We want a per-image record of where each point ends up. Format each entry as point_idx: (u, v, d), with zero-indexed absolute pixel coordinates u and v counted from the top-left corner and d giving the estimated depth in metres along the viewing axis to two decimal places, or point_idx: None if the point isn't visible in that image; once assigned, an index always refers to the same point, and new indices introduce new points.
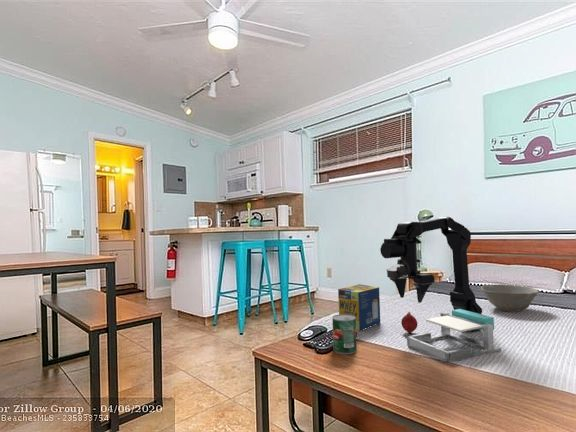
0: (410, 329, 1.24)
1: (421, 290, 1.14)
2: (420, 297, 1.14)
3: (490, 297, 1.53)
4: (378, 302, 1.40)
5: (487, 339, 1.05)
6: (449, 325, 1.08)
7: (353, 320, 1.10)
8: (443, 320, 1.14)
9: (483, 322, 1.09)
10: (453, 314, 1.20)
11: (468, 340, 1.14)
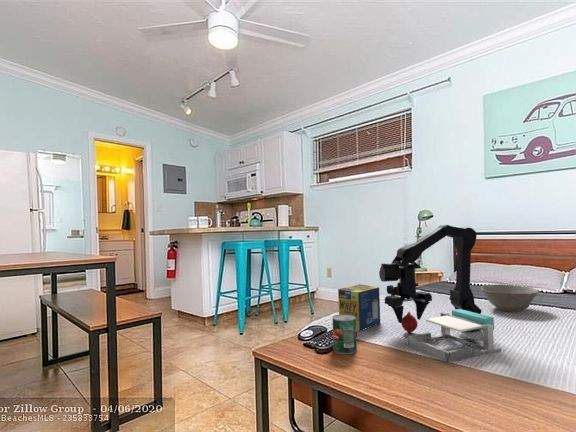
0: (410, 329, 1.24)
1: (397, 311, 1.25)
2: (397, 317, 1.25)
3: (490, 297, 1.53)
4: (378, 302, 1.40)
5: (487, 339, 1.05)
6: (449, 325, 1.08)
7: (353, 320, 1.10)
8: (443, 320, 1.14)
9: (483, 322, 1.09)
10: (453, 314, 1.20)
11: (468, 340, 1.14)
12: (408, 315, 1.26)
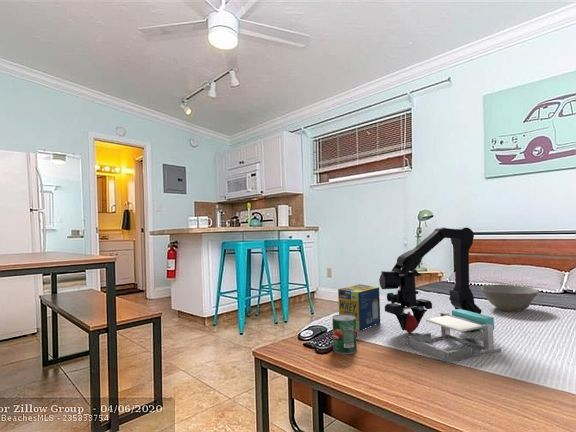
0: (410, 329, 1.24)
1: (400, 318, 1.25)
2: (401, 325, 1.26)
3: (490, 297, 1.53)
4: (378, 302, 1.40)
5: (487, 339, 1.05)
6: (449, 325, 1.08)
7: (353, 320, 1.10)
8: (443, 320, 1.14)
9: (483, 322, 1.09)
10: (453, 314, 1.20)
11: (468, 340, 1.14)
12: (408, 315, 1.26)
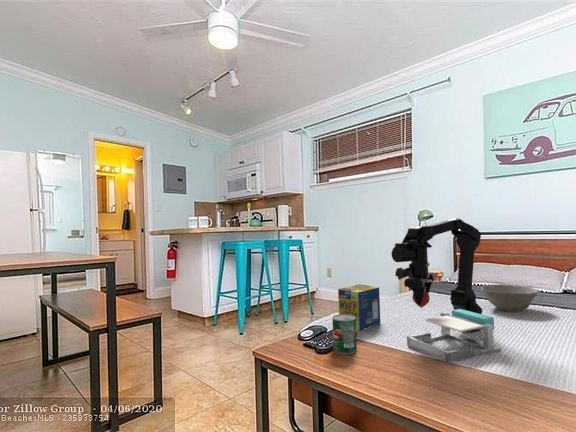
0: (426, 302, 1.19)
1: (417, 293, 1.18)
2: (417, 299, 1.19)
3: (490, 297, 1.53)
4: (378, 302, 1.40)
5: (487, 339, 1.05)
6: (449, 325, 1.08)
7: (353, 320, 1.10)
8: (443, 320, 1.14)
9: (483, 322, 1.09)
10: (453, 314, 1.20)
11: (468, 340, 1.14)
12: None
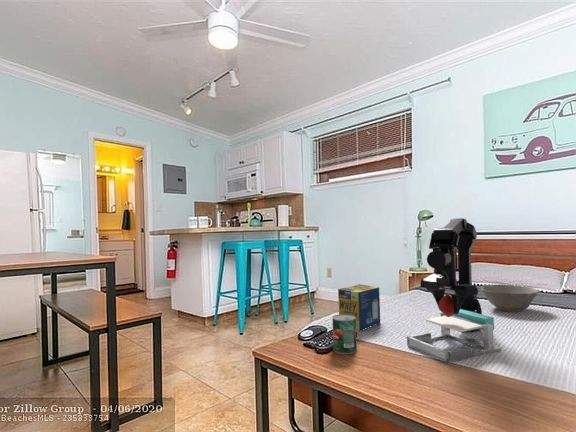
0: None
1: (458, 301, 1.07)
2: (457, 308, 1.07)
3: (490, 297, 1.53)
4: (378, 302, 1.40)
5: (487, 339, 1.05)
6: (449, 325, 1.08)
7: (353, 320, 1.10)
8: (443, 320, 1.14)
9: (483, 322, 1.09)
10: None
11: (468, 340, 1.14)
12: (450, 296, 1.11)
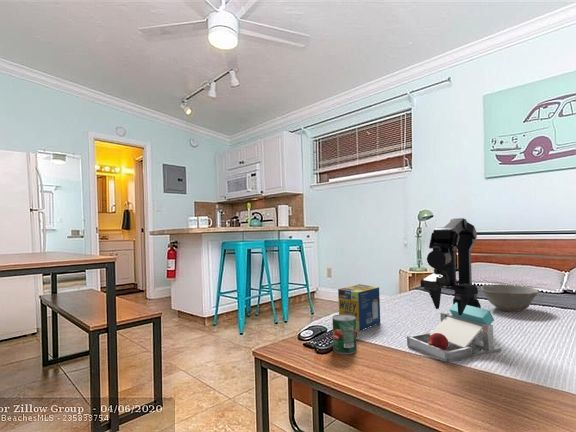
0: None
1: (462, 302, 1.06)
2: (461, 309, 1.06)
3: (490, 297, 1.53)
4: (378, 302, 1.40)
5: (487, 339, 1.05)
6: (452, 340, 1.08)
7: (353, 320, 1.10)
8: (445, 330, 1.14)
9: (482, 320, 1.09)
10: (452, 312, 1.19)
11: None
12: (433, 341, 1.06)
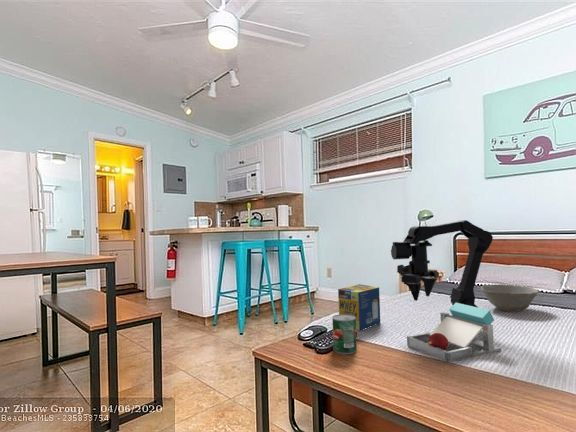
0: None
1: (413, 289, 1.25)
2: (413, 295, 1.26)
3: (490, 297, 1.53)
4: (378, 302, 1.40)
5: (487, 339, 1.05)
6: (452, 340, 1.08)
7: (353, 320, 1.10)
8: (445, 330, 1.14)
9: (482, 320, 1.09)
10: (452, 312, 1.19)
11: None
12: (433, 341, 1.06)
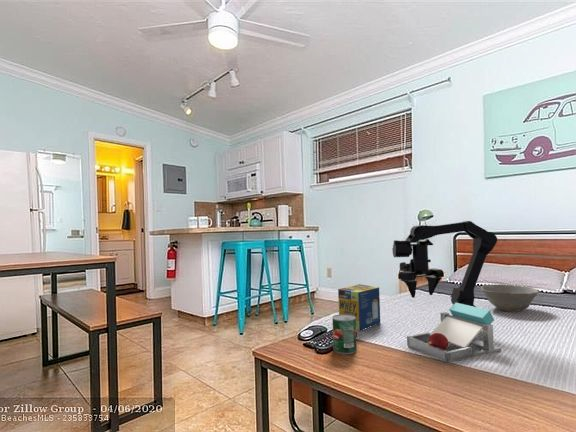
0: None
1: (410, 286, 1.29)
2: (410, 292, 1.29)
3: (490, 297, 1.53)
4: (378, 302, 1.40)
5: (487, 339, 1.05)
6: (452, 340, 1.08)
7: (353, 320, 1.10)
8: (445, 330, 1.14)
9: (482, 320, 1.09)
10: (452, 312, 1.19)
11: None
12: (433, 341, 1.06)
